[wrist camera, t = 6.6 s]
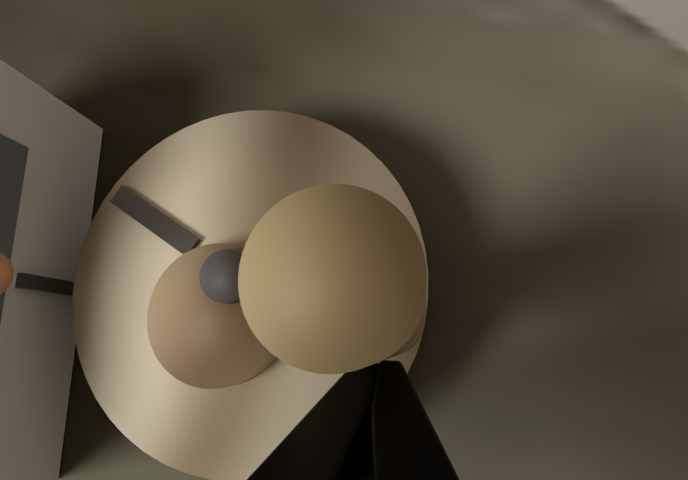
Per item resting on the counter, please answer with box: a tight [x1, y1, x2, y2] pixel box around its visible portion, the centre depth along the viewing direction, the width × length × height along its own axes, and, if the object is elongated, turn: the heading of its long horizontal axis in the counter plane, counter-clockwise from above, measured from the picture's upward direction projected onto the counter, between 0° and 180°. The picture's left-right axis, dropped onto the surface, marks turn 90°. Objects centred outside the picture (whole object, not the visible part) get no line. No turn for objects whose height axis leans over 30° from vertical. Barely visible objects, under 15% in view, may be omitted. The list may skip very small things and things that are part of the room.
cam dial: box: [72, 110, 428, 480], centre depth 13 cm, size 12×12×12 cm
